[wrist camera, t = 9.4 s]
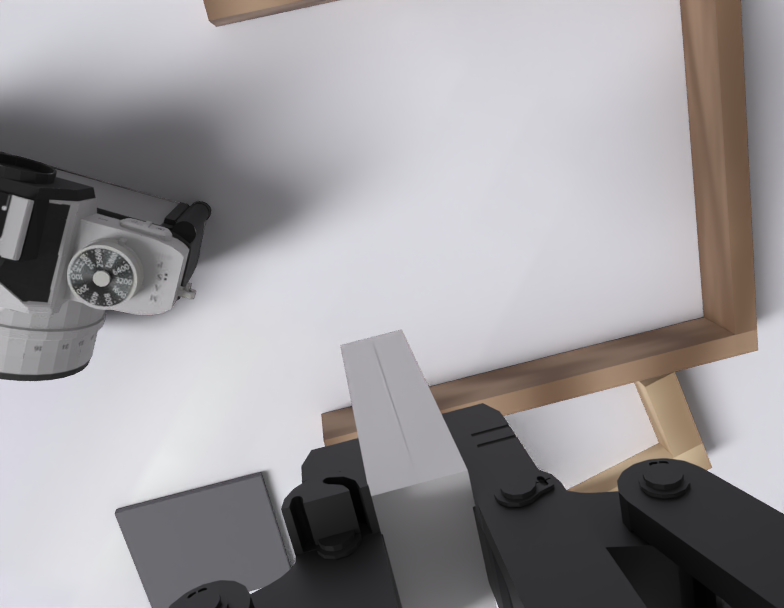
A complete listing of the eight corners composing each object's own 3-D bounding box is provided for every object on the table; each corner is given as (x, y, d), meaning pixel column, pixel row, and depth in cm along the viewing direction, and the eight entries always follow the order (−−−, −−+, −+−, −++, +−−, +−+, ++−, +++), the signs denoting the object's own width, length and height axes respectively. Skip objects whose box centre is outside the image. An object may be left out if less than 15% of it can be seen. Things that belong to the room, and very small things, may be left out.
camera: (-144, 278, 33) (-318, 355, 24) (-120, 88, 31) (-301, 88, 22) (187, 357, 37) (150, 451, 27) (230, 189, 34) (206, 228, 25)
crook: (487, 558, 43) (495, 577, 41) (439, 471, 41) (446, 488, 39) (695, 452, 42) (712, 467, 41) (658, 359, 40) (674, 371, 39)
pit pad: (156, 611, 41) (155, 616, 40) (116, 509, 38) (114, 513, 38) (293, 574, 41) (293, 579, 41) (261, 472, 39) (260, 475, 38)
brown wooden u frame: (326, 433, 39) (329, 460, 36) (208, -2, 32) (200, -11, 29) (725, 331, 40) (758, 350, 37) (696, -106, 33) (734, -124, 30)
